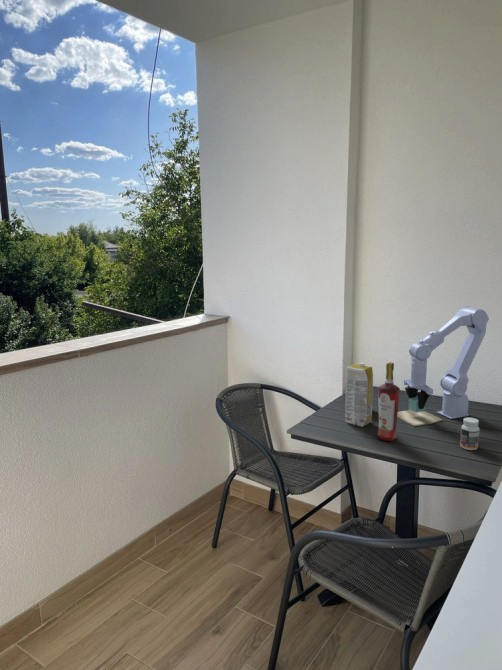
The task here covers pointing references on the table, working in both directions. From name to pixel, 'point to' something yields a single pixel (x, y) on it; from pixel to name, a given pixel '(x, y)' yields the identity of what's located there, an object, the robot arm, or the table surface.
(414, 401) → the teal cube
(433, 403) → the table surface
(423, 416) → the birch board
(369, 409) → the juice carton
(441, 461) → the table surface
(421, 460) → the table surface
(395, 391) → the liquor
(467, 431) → the pill bottle
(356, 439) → the table surface
